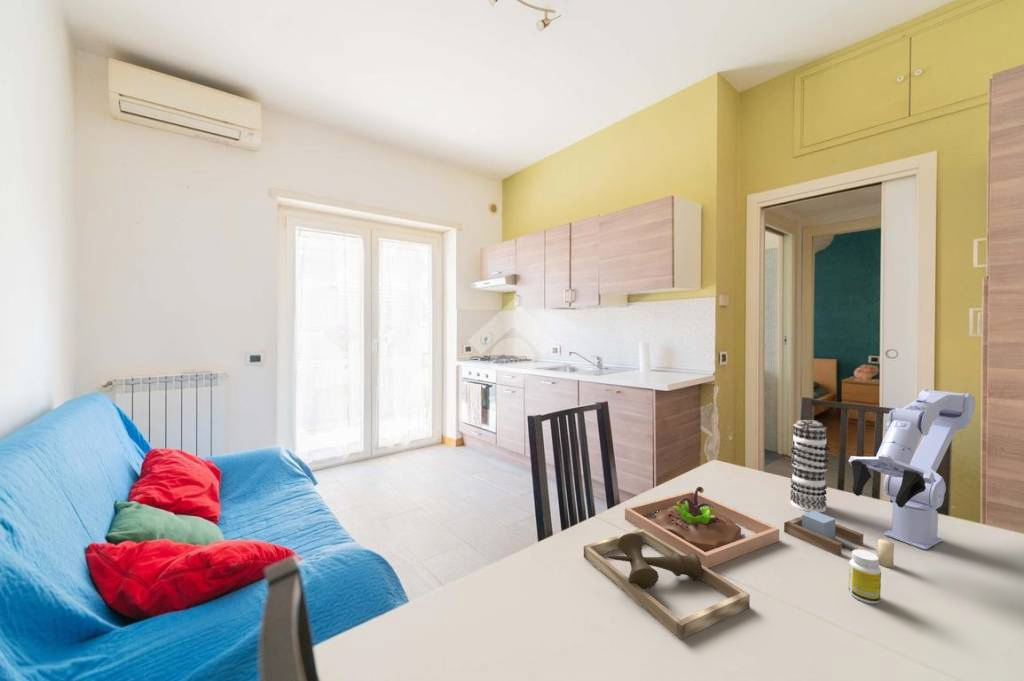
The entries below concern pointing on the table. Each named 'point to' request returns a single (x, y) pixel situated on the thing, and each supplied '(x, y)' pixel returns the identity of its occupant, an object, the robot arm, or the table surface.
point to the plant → (698, 524)
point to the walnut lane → (821, 541)
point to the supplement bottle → (864, 576)
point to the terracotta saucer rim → (708, 559)
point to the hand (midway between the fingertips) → (876, 498)
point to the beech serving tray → (679, 627)
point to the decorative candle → (809, 466)
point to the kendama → (654, 562)
